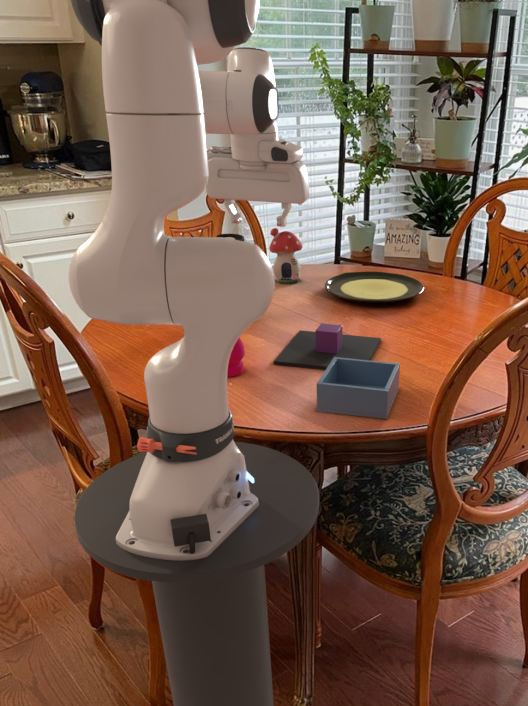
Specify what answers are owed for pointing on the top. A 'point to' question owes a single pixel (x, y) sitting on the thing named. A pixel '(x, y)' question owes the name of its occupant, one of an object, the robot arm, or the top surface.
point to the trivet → (305, 354)
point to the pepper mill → (236, 359)
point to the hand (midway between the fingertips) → (259, 224)
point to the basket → (358, 387)
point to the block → (328, 338)
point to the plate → (374, 287)
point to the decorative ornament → (285, 256)
